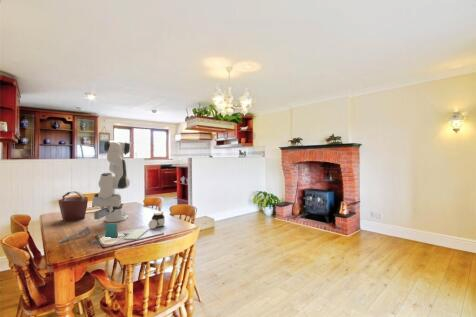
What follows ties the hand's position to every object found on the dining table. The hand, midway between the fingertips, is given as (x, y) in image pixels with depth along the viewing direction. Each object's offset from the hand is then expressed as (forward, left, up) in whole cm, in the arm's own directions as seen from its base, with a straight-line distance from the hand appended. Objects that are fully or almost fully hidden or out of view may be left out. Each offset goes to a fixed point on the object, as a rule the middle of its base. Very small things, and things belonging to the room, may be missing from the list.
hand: (106, 212), depth 182 cm
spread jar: (-12, +34, -15) cm, 39 cm away
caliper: (+14, -15, -16) cm, 26 cm away
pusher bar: (+5, 0, -2) cm, 5 cm away
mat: (+16, +11, -15) cm, 25 cm away
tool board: (+8, +26, -15) cm, 31 cm away
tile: (+14, +11, -15) cm, 23 cm away
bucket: (-37, -50, -15) cm, 64 cm away
